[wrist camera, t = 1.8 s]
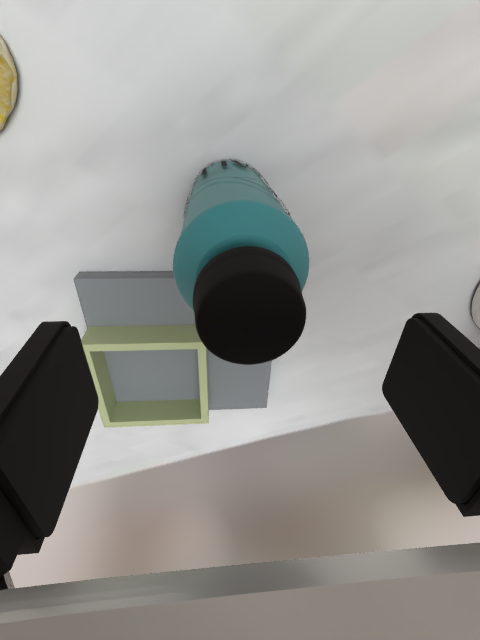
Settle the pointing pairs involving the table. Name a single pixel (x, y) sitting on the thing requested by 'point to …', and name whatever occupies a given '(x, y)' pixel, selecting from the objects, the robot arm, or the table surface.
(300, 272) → the beverage bottle
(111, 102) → the table surface
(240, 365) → the deck plate
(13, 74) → the bread roll
